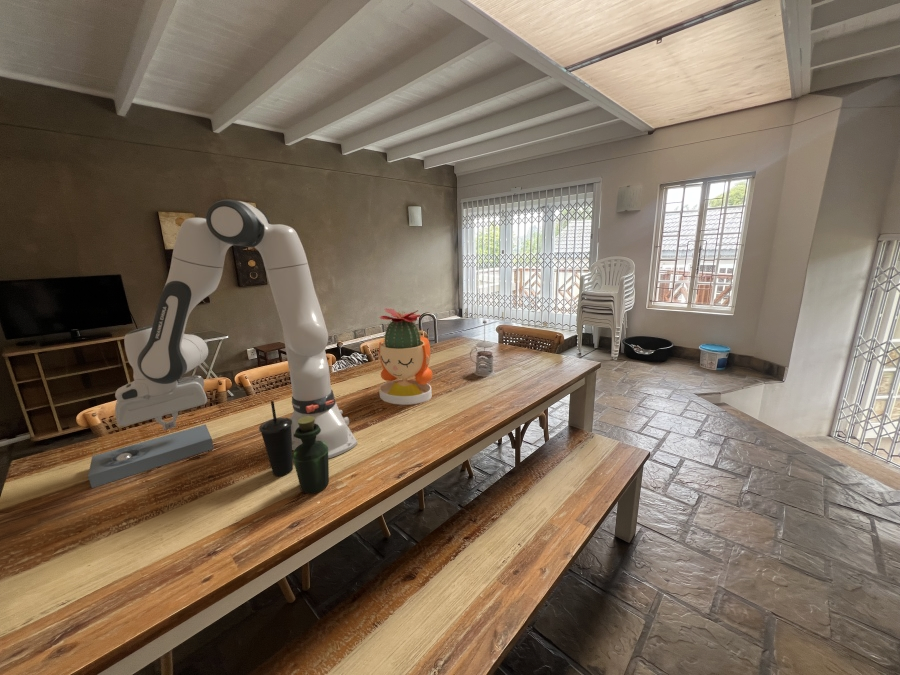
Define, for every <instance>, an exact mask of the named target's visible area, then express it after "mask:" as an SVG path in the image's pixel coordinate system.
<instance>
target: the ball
mask: <svg viewBox="0 0 900 675" xmlns="http://www.w3.org/2000/svg"><path fill="white" fill-rule="evenodd" d="M131 457H133V455H132V454H130V453H123V454H121V455H119V456H118V457H117V458H116V459H115V461H122V460H125V459H129V458H131Z"/></svg>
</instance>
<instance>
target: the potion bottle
mask: <svg viewBox="0 0 900 675" xmlns="http://www.w3.org/2000/svg"><path fill="white" fill-rule="evenodd" d="M314 422H315V417H313V416H305V417H302V418H300V419H299V420H298V424H299V427H298V428H297V429H296V431H295V437H296V438H298V439H301V441H302V444H301V445H299V446H298V447H297V448H296V449H295V450H293V452H292V457H293V466H294V467H295V472H296V476H297V479H298V483H299V487H300V490H301V491H302V492H303V493H305V494H309V495H311V494H317V493H319V492H322V491H323V490H325V489H326V487H327V486H328V485H329V482H330V477H329V476H330V472H329V470H330V469H329V468H330V465H329V463H330V462H329V459H328V447H327V445H326V444H325V443H324V442H322V441H317V440H316V435H318V434H319V433H320V432H321V429H320V427H319V425H318V424H315V423H314Z"/></svg>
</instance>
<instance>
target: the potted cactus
mask: <svg viewBox="0 0 900 675" xmlns="http://www.w3.org/2000/svg"><path fill="white" fill-rule="evenodd" d="M383 310H384V312H386V313H387V314H390V316H388V315H381V316H379V319H381V320H387V321H389V322H387V325H386V326H385V329H384V332H383V336H384V338H382V341H380V342H379V344H378V353H377V357H378V359H379V360H380V364H381V366H382V368H383V369H381V371H380V376H381V379H382V380H384V381H386V382H385V383H382V384H381V385H379V387H378V389H379V390H378V391H379V398H380V399H381V401H384V402H385V403H389V404H393V405H403V406H406V405H418V404H422V403H426V402H428V401H430V400H431V399H432V392H433V391H432V386H431V384H429V383H430V382H431V381H432V379H433V378H434V376H433V375H434V374H433V371H432V370H431V369H430V368H429V364H430V359H431V344H430V341H429V338H427V337H425V336H422V335H421V333H420V332H421V331H419V330H420V328H419V326H417V325H416V321H418V318H420V317H422V316H421V314H416V313H417V312H419V310H415V311H413V312H409V313H406V312H405V311H402V312H398V311H397V310H395V309H392V308H384V309H383ZM413 377H414V378H415V379H410V378H413Z"/></svg>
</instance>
